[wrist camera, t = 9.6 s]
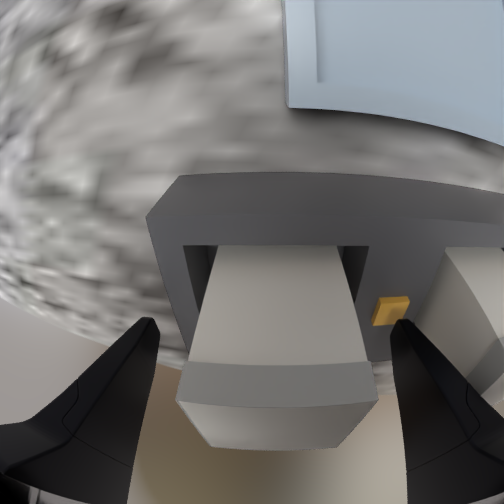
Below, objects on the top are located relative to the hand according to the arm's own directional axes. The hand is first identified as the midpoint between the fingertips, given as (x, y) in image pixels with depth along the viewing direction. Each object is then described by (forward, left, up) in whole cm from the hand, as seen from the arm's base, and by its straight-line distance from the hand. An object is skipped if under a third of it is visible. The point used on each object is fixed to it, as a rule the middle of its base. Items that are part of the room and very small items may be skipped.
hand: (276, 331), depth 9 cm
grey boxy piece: (-4, 0, -4) cm, 6 cm away
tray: (-6, -12, -4) cm, 14 cm away
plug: (0, 0, -3) cm, 3 cm away
